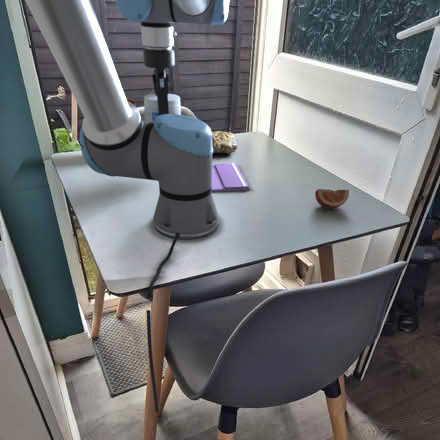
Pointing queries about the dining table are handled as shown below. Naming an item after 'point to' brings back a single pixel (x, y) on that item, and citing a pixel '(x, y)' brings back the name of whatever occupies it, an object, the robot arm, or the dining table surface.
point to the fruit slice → (331, 197)
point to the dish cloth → (228, 178)
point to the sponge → (223, 142)
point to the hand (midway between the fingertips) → (164, 142)
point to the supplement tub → (152, 106)
